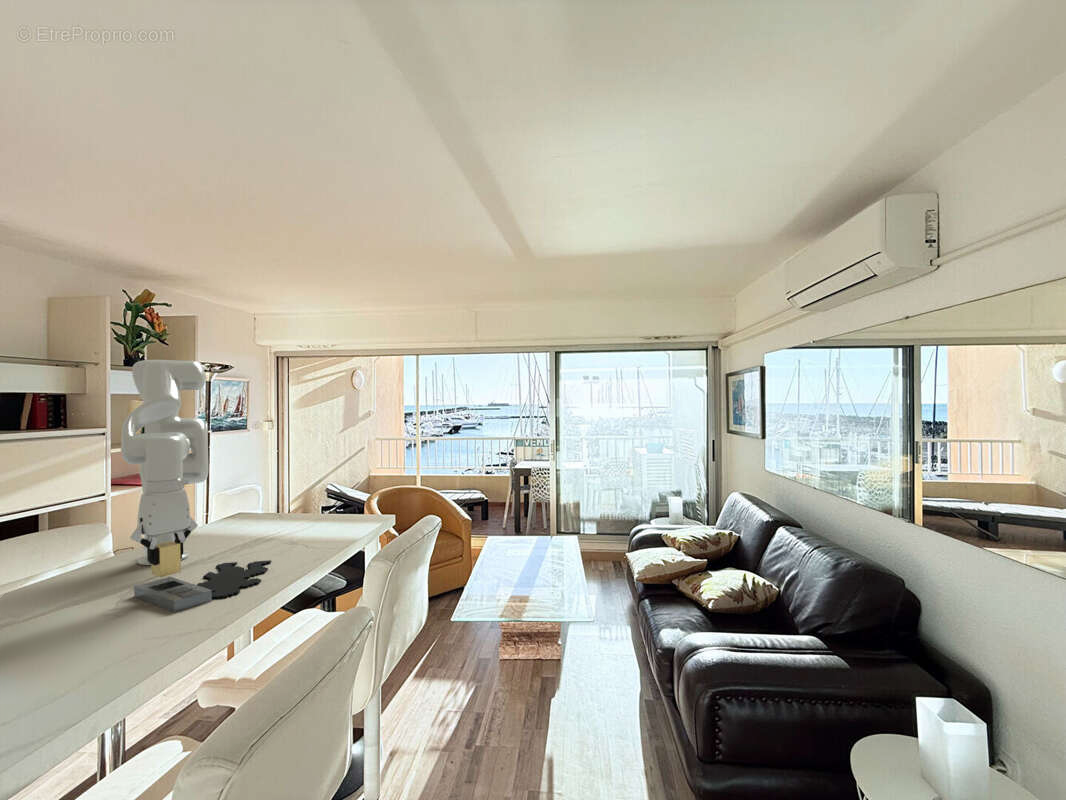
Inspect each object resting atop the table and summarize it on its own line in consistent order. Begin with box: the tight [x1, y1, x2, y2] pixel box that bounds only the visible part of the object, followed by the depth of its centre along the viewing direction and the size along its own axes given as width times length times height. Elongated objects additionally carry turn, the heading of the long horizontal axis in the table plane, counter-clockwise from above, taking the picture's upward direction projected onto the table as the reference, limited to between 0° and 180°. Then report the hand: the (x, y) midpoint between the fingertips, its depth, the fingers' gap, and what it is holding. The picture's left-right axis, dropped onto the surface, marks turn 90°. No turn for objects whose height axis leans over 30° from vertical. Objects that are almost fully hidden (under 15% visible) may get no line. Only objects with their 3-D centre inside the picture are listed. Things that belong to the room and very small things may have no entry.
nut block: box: [150, 541, 182, 578], centre depth 132 cm, size 4×4×7 cm
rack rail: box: [133, 576, 213, 613], centre depth 129 cm, size 20×8×3 cm, turn 58°
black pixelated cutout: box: [196, 559, 272, 601], centre depth 143 cm, size 16×1×30 cm
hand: (165, 560), depth 132 cm, fingers closed on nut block, 4 cm apart
